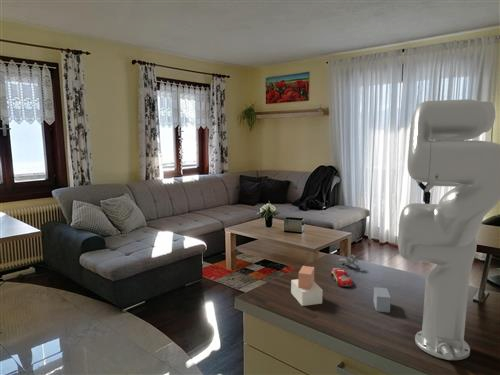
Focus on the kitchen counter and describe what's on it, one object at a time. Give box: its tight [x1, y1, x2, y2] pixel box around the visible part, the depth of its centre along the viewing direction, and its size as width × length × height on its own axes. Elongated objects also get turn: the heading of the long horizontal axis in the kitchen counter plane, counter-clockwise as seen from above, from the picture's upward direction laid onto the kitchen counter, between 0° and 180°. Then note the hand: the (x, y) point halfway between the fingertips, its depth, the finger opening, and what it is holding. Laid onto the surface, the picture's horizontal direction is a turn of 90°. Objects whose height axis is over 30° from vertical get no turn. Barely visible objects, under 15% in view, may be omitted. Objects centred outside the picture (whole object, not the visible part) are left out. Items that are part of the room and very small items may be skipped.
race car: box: [330, 267, 353, 288], centre depth 137 cm, size 13×5×4 cm, turn 2°
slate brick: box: [372, 286, 392, 313], centre depth 116 cm, size 7×4×5 cm, turn 168°
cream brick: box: [290, 278, 323, 307], centre depth 122 cm, size 10×7×5 cm
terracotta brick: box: [297, 265, 315, 289], centre depth 122 cm, size 7×4×5 cm, turn 161°
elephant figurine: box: [338, 252, 360, 269], centre depth 151 cm, size 10×6×9 cm
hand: (444, 204), depth 110 cm, fingers open, 9 cm apart
